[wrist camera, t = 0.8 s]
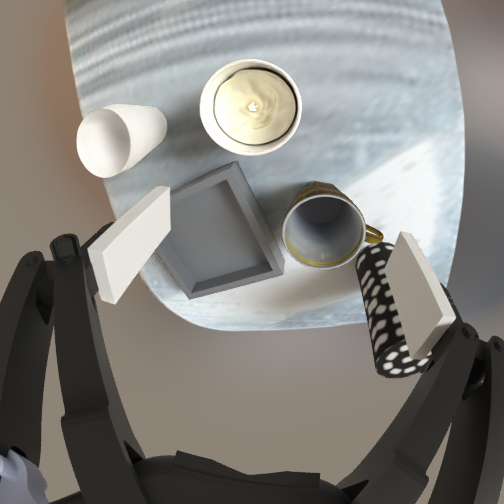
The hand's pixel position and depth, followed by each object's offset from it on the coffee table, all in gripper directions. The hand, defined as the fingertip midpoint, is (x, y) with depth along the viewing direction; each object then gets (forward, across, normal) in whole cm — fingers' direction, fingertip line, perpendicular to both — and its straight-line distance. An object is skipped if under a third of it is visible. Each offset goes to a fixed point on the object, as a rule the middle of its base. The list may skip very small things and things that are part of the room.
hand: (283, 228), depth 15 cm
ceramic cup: (+25, +7, -8) cm, 28 cm away
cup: (+26, -22, 0) cm, 34 cm away
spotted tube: (+25, +18, -16) cm, 35 cm away
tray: (+25, -10, -16) cm, 32 cm away
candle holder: (+26, -5, +5) cm, 26 cm away
